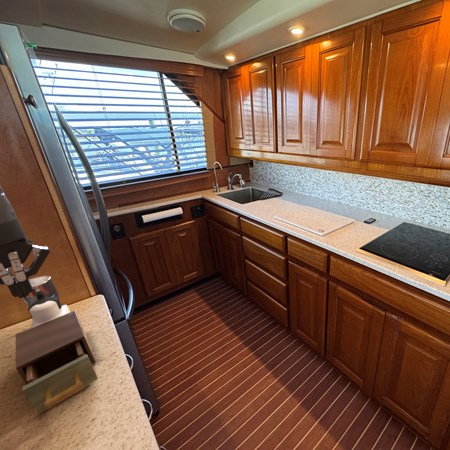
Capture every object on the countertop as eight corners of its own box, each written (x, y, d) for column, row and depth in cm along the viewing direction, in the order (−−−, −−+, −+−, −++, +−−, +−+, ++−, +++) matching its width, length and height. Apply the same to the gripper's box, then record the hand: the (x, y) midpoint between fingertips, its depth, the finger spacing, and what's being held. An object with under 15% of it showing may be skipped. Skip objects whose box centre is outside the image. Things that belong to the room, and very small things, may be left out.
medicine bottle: (43, 334, 70) (25, 301, 66) (75, 322, 75) (60, 290, 70) (40, 349, 65) (21, 314, 61) (75, 335, 70) (59, 301, 65)
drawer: (103, 393, 53) (92, 370, 50) (39, 432, 46) (22, 408, 43) (87, 349, 64) (78, 328, 61) (34, 375, 57) (21, 353, 54)
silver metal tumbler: (68, 311, 79) (51, 272, 74) (69, 322, 75) (51, 281, 69) (39, 322, 75) (18, 282, 69) (38, 334, 70) (15, 292, 65)
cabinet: (96, 362, 61) (84, 335, 58) (33, 396, 53) (15, 367, 50) (85, 334, 70) (75, 310, 67) (30, 360, 62) (15, 334, 59)
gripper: (35, 208, 52) (64, 276, 58) (-71, 224, 43) (-23, 303, 49) (37, 216, 47) (68, 288, 53) (-81, 235, 38) (-28, 320, 44)
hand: (24, 295), depth 51 cm, fingers closed
